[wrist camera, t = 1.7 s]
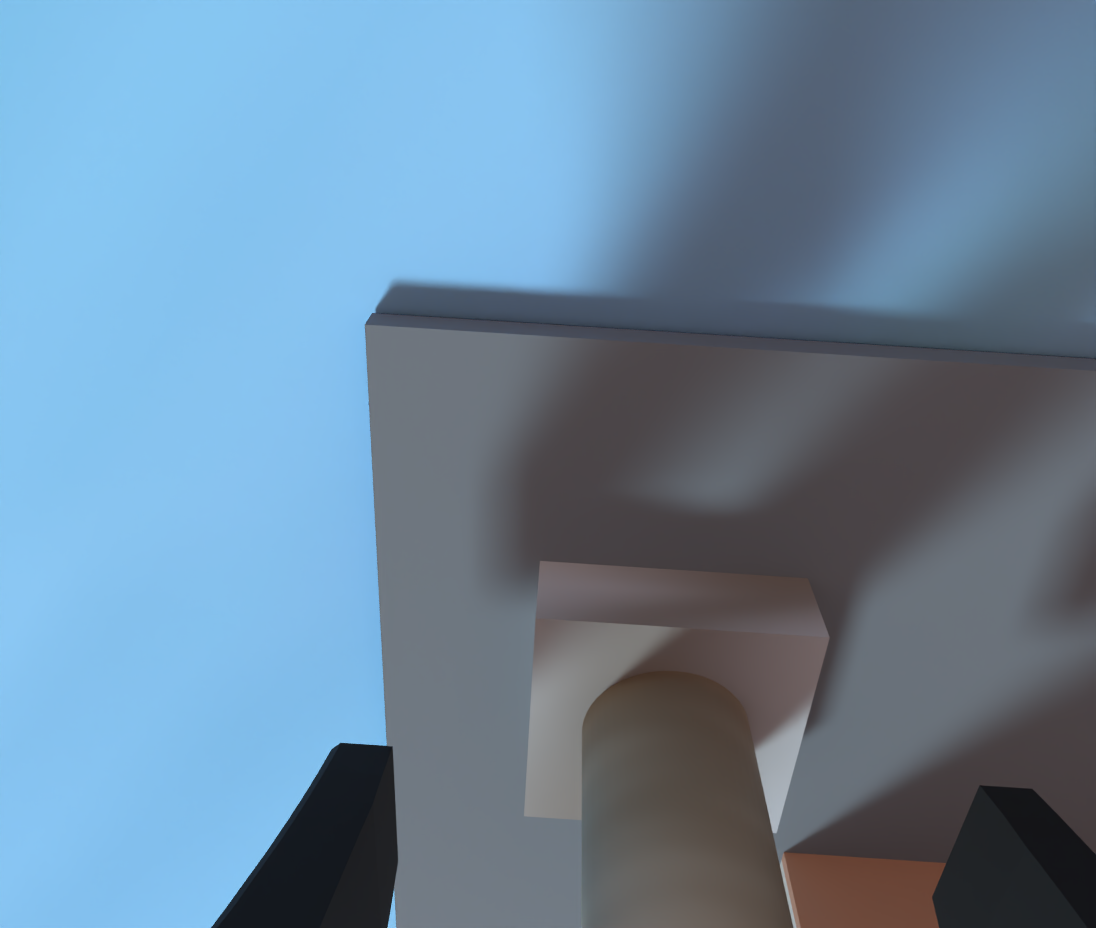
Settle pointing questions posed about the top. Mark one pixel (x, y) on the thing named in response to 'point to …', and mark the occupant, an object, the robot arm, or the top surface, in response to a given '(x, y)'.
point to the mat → (731, 547)
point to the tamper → (671, 736)
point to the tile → (859, 891)
